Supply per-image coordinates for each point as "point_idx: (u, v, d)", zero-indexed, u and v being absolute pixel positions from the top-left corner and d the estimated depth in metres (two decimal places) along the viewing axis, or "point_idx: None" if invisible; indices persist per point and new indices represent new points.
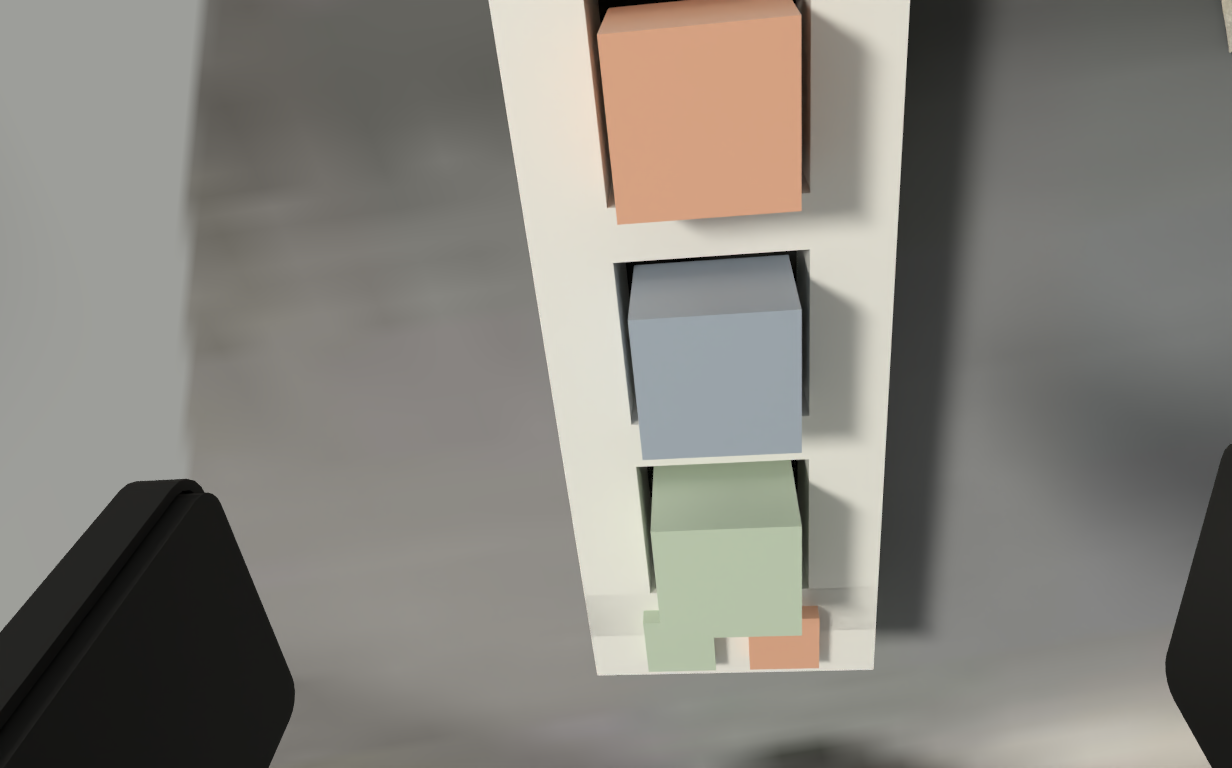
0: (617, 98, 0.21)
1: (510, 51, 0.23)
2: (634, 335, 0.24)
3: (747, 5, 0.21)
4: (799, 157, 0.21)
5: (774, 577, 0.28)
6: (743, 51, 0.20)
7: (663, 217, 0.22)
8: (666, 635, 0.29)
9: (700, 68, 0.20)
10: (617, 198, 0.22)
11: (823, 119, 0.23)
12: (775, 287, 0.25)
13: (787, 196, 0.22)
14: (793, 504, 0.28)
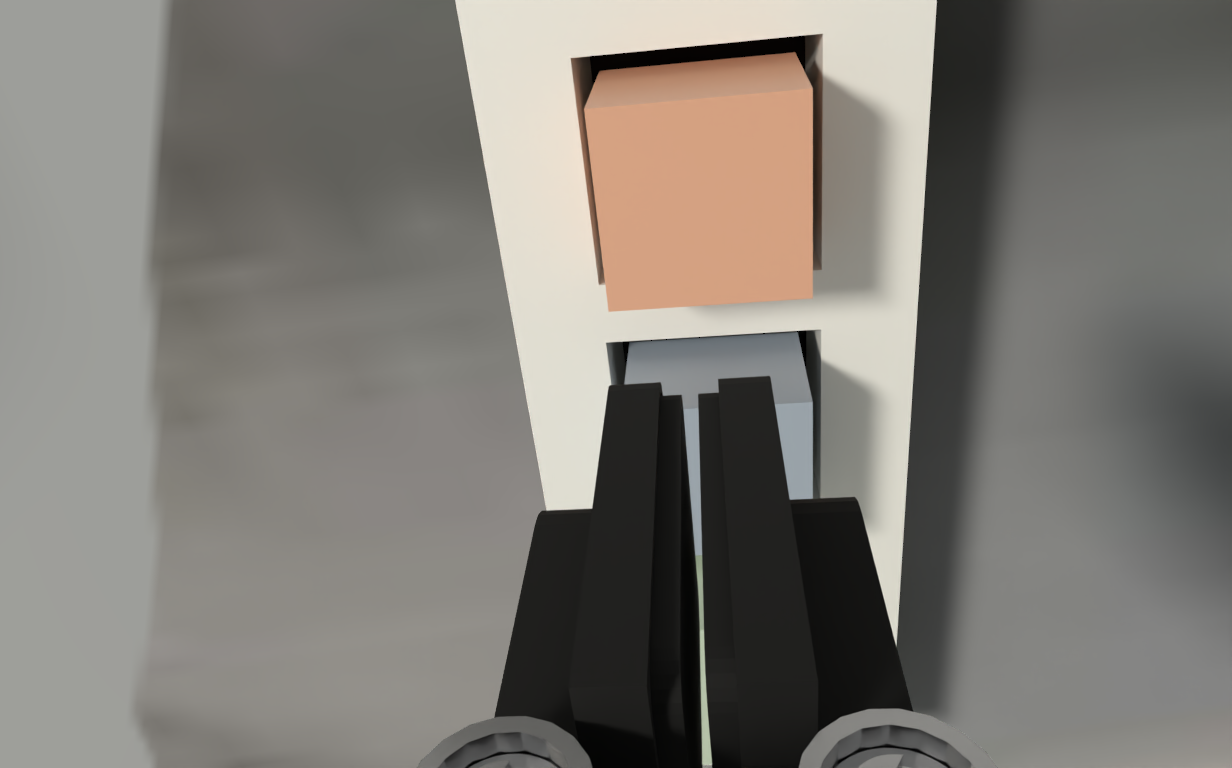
0: (608, 177, 0.19)
1: (491, 119, 0.21)
2: None
3: (752, 72, 0.19)
4: (810, 241, 0.19)
5: None
6: (747, 127, 0.18)
7: (659, 304, 0.20)
8: None
9: (699, 145, 0.18)
10: (608, 283, 0.20)
11: (836, 192, 0.21)
12: (783, 373, 0.22)
13: (797, 282, 0.20)
14: None
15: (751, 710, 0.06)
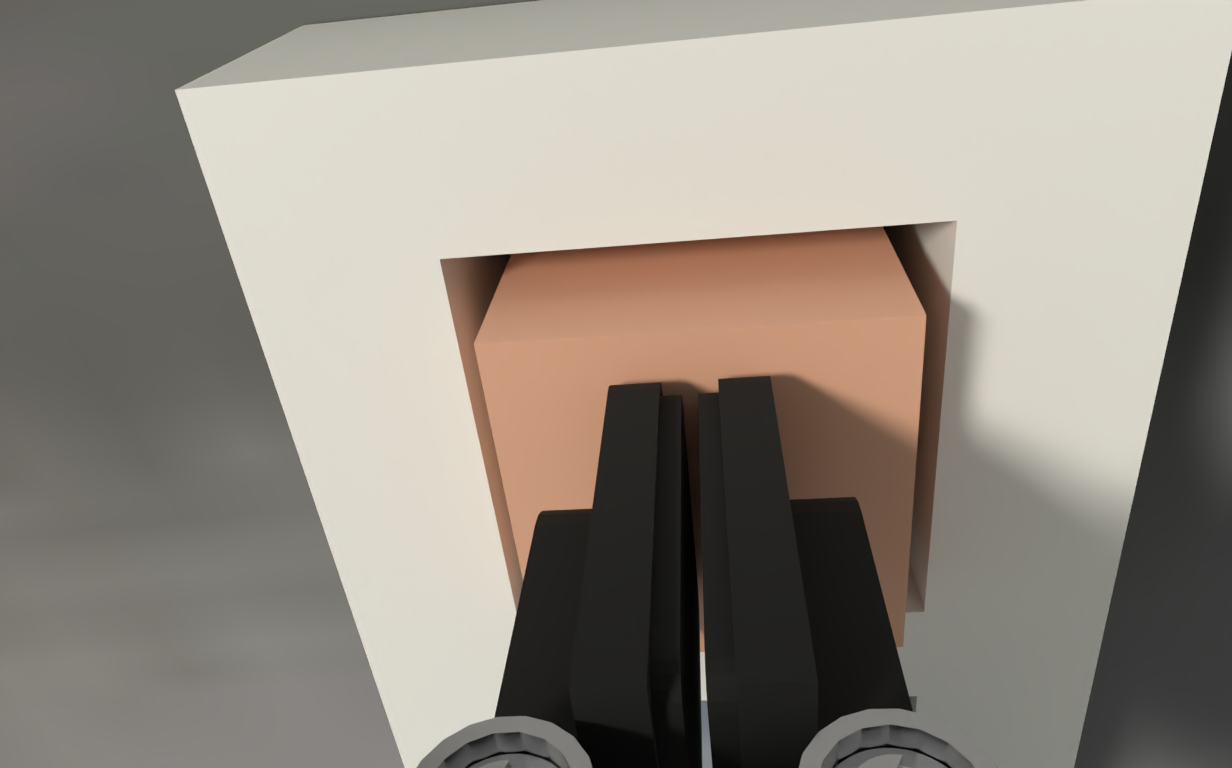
0: (526, 456, 0.10)
1: (295, 363, 0.11)
2: None
3: (796, 248, 0.10)
4: (904, 564, 0.10)
5: None
6: (792, 379, 0.09)
7: None
8: None
9: (698, 410, 0.09)
10: None
11: (961, 494, 0.11)
12: None
13: None
14: None
15: (751, 710, 0.06)
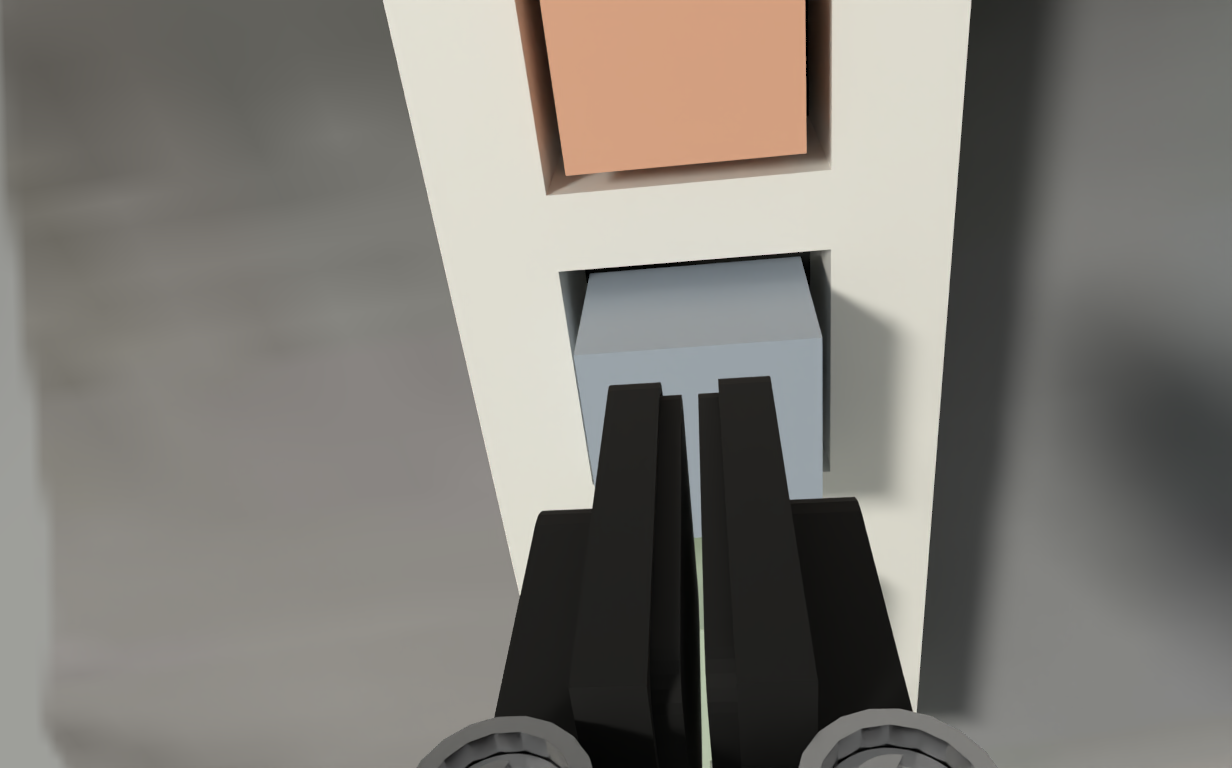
0: (558, 2, 0.16)
1: None
2: (584, 376, 0.17)
3: None
4: (803, 79, 0.16)
5: None
6: None
7: (625, 165, 0.17)
8: None
9: None
10: (564, 140, 0.17)
11: (850, 63, 0.16)
12: (784, 304, 0.17)
13: (787, 133, 0.17)
14: None
15: (751, 710, 0.06)
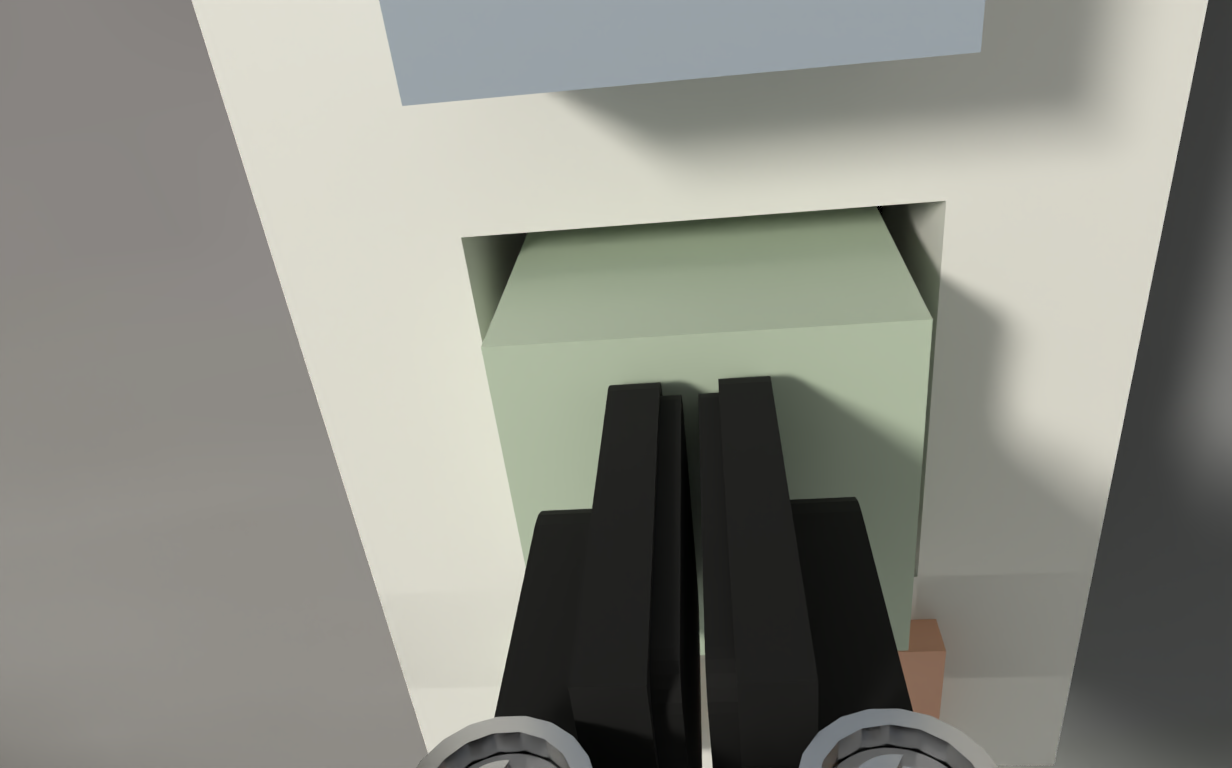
0: None
1: None
2: None
3: None
4: None
5: (841, 486, 0.10)
6: None
7: None
8: None
9: None
10: None
11: None
12: None
13: None
14: (896, 276, 0.10)
15: (751, 710, 0.06)
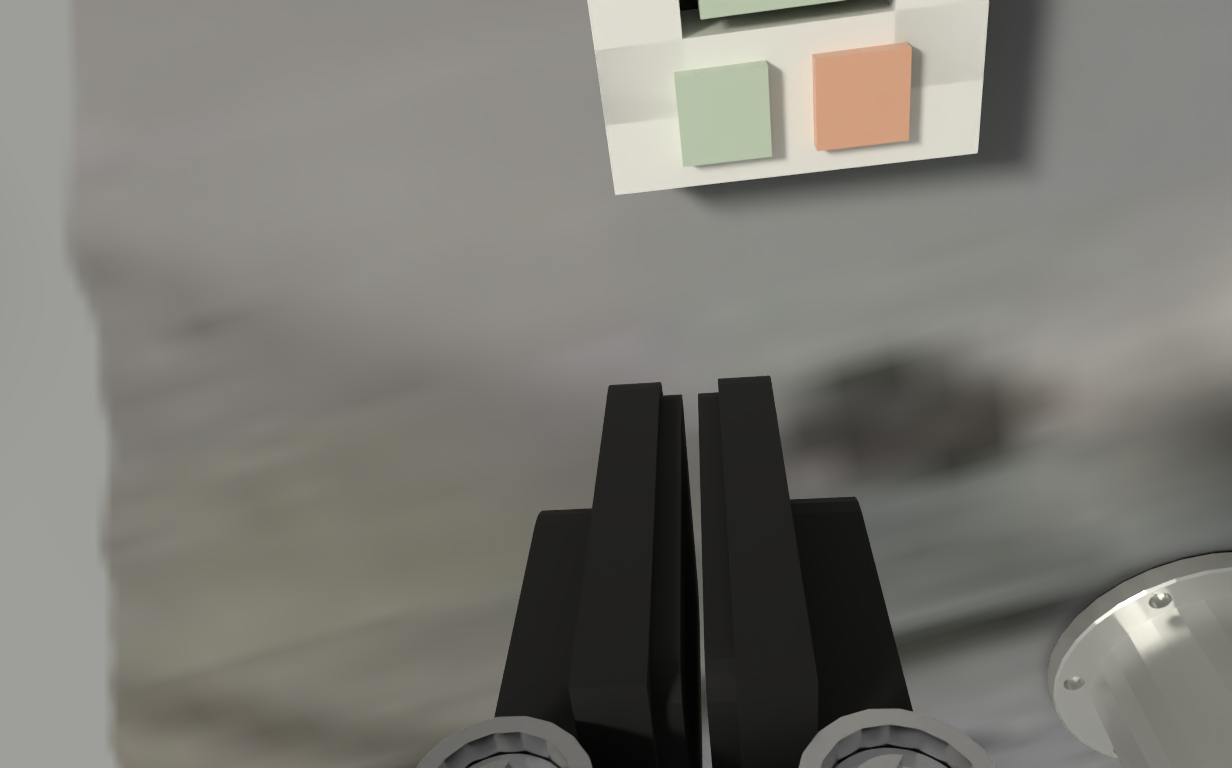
0: None
1: None
2: None
3: None
4: None
5: None
6: None
7: None
8: (706, 12, 0.23)
9: None
10: None
11: None
12: None
13: None
14: None
15: (751, 710, 0.06)
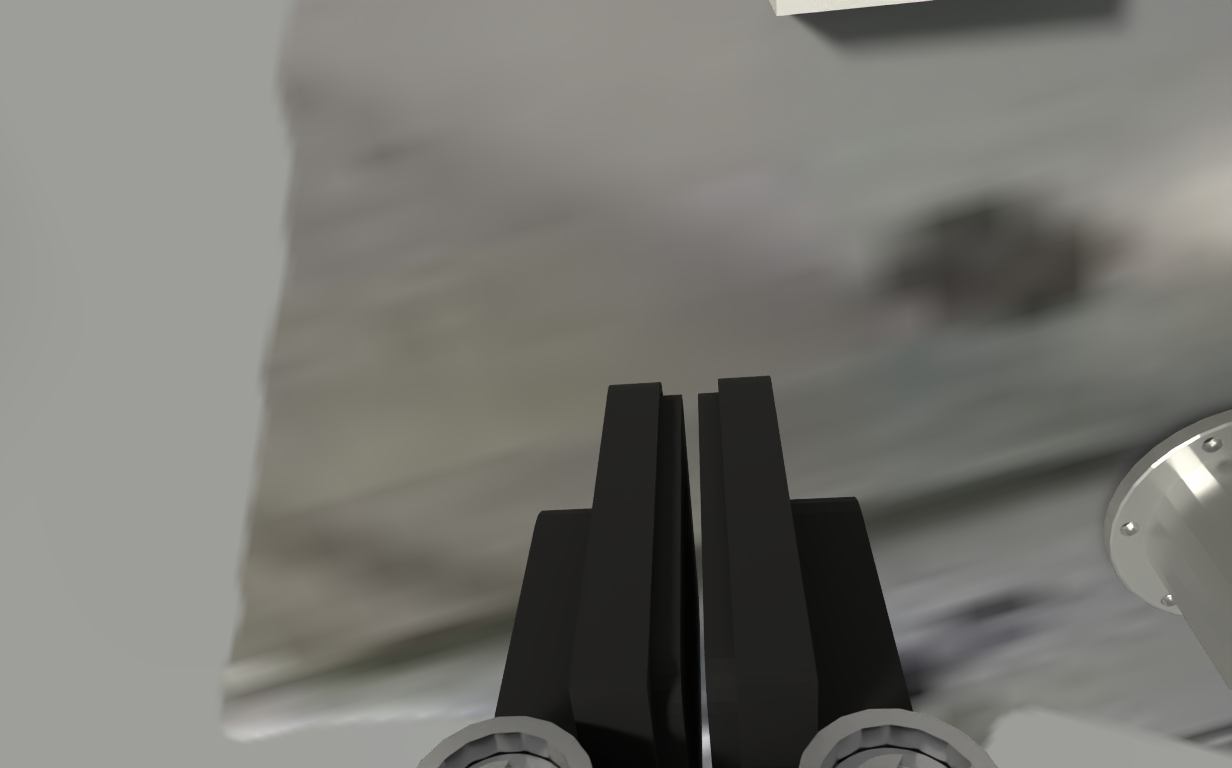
0: None
1: None
2: None
3: None
4: None
5: None
6: None
7: None
8: None
9: None
10: None
11: None
12: None
13: None
14: None
15: (751, 710, 0.06)
